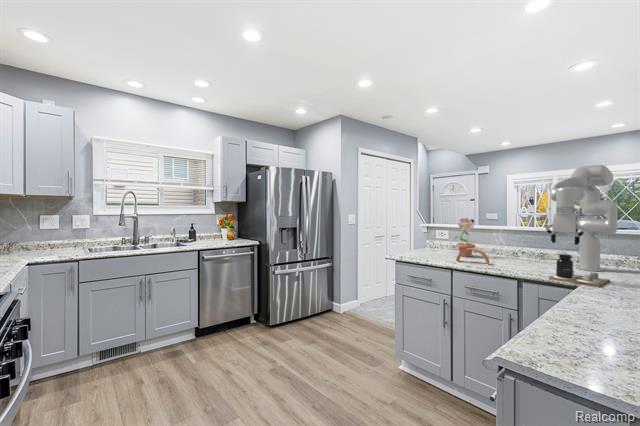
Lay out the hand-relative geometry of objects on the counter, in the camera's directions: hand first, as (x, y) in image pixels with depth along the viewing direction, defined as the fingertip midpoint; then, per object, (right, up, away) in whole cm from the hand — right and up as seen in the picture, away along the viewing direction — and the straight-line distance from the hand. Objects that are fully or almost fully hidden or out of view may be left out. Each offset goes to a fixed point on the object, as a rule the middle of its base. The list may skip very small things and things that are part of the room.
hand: (564, 243), depth 159 cm
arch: (-24, -19, +49) cm, 58 cm away
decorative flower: (-16, -18, +77) cm, 80 cm away
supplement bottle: (0, -18, 0) cm, 18 cm away
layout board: (+6, -19, -1) cm, 20 cm away
